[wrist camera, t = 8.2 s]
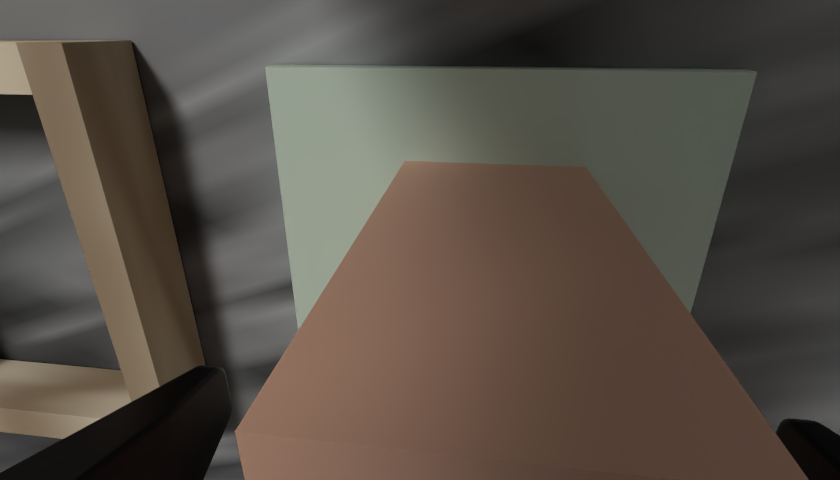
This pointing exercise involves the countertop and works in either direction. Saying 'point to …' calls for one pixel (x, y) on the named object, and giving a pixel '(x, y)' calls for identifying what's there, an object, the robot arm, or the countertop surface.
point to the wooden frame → (102, 234)
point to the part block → (503, 349)
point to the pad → (505, 147)
